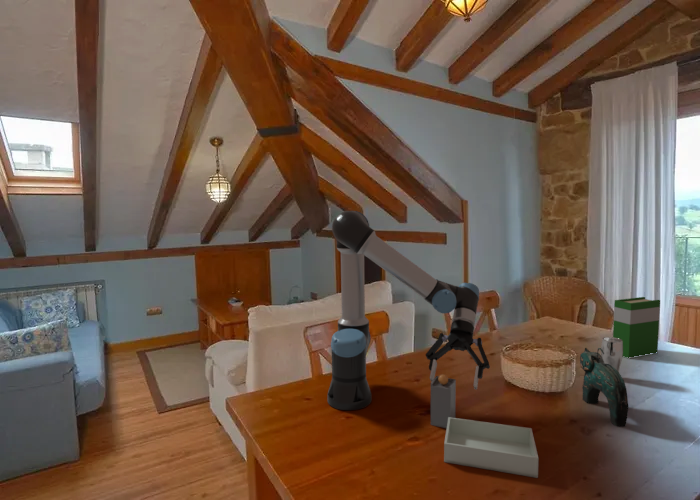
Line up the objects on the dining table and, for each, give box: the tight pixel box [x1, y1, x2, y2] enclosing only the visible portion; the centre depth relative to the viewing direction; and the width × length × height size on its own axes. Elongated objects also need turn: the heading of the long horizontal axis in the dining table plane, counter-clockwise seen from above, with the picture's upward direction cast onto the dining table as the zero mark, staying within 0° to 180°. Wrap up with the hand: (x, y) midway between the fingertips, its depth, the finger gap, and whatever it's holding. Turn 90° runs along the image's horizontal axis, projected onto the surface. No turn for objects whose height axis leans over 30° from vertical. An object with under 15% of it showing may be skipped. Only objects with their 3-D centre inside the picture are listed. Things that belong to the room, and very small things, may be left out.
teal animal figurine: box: [579, 347, 629, 427], centre depth 127 cm, size 20×6×20 cm, turn 178°
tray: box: [443, 417, 539, 479], centre depth 107 cm, size 22×14×5 cm, turn 72°
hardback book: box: [612, 296, 661, 359], centre depth 178 cm, size 18×7×24 cm, turn 109°
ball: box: [438, 373, 449, 385], centre depth 122 cm, size 3×3×3 cm
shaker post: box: [430, 375, 457, 429], centre depth 123 cm, size 6×6×13 cm
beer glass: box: [600, 336, 624, 374], centre depth 153 cm, size 7×7×15 cm
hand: (452, 383), depth 127 cm, fingers open, 13 cm apart
